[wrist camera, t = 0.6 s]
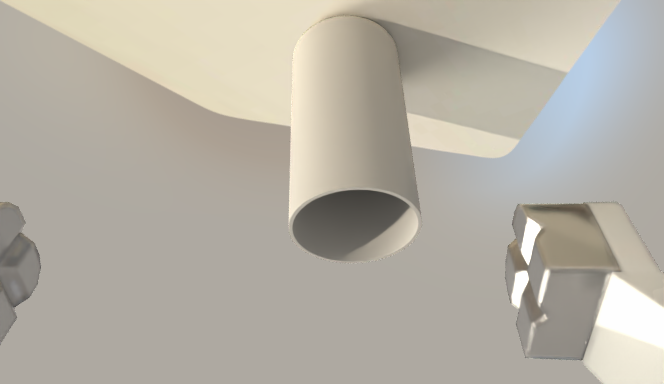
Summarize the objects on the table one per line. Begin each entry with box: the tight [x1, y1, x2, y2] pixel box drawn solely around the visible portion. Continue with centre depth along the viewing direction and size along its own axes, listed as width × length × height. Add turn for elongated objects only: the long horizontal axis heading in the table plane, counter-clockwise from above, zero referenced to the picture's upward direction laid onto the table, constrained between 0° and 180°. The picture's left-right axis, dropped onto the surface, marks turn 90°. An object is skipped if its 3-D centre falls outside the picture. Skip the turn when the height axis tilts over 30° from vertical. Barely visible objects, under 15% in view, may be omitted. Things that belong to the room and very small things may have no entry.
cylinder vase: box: [289, 16, 422, 263], centre depth 64 cm, size 12×12×25 cm
